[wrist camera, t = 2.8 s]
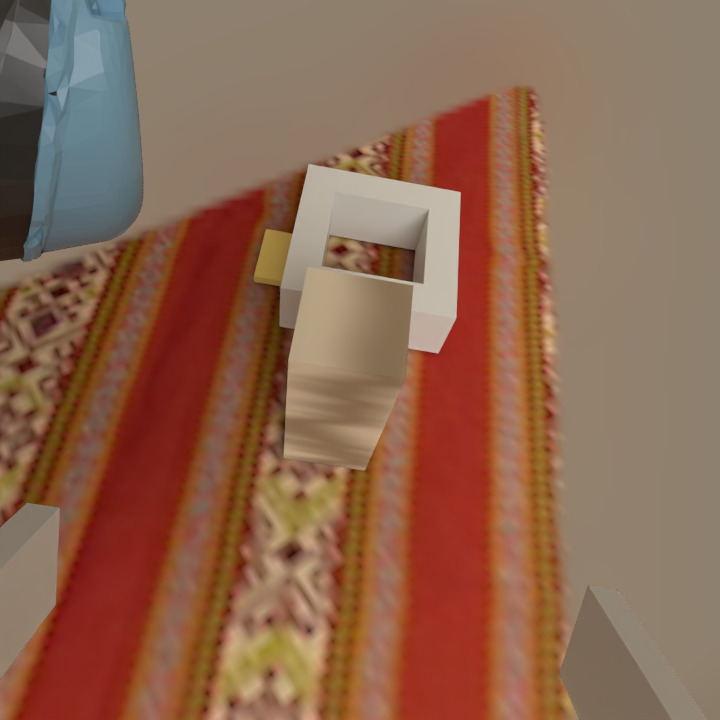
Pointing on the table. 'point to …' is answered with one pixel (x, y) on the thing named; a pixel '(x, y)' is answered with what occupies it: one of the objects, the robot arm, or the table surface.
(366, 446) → the beech peg
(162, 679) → the table surface
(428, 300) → the socket block
